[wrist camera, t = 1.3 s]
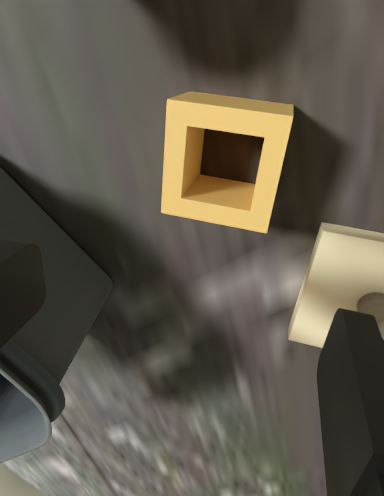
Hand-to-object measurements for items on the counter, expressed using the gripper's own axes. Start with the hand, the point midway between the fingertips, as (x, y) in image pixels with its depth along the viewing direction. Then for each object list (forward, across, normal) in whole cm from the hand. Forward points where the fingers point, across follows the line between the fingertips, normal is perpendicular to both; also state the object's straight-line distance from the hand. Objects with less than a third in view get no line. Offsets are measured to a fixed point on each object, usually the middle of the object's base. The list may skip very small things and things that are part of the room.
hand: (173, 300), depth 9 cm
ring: (+17, +1, 0) cm, 17 cm away
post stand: (+17, -11, +9) cm, 22 cm away
